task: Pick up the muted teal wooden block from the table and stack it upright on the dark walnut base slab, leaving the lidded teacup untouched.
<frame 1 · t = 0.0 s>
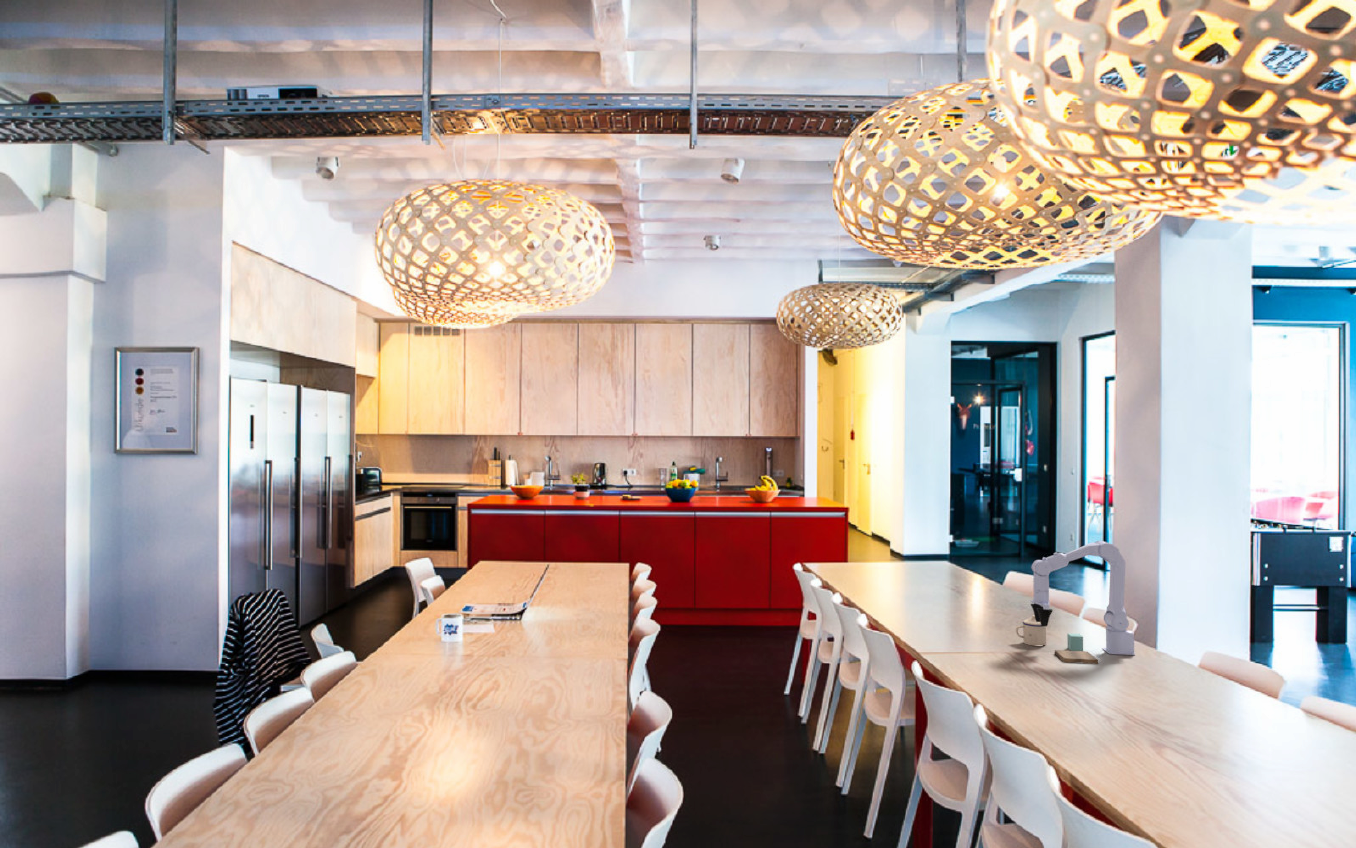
hand: (1041, 623, 317), 10 cm above the table, tool pointing down, fingers open, 7 cm apart
teal block: (1075, 650, 316), on the table
teacup with lid: (1031, 644, 325), on the table
walnut slab: (1076, 658, 302), on the table
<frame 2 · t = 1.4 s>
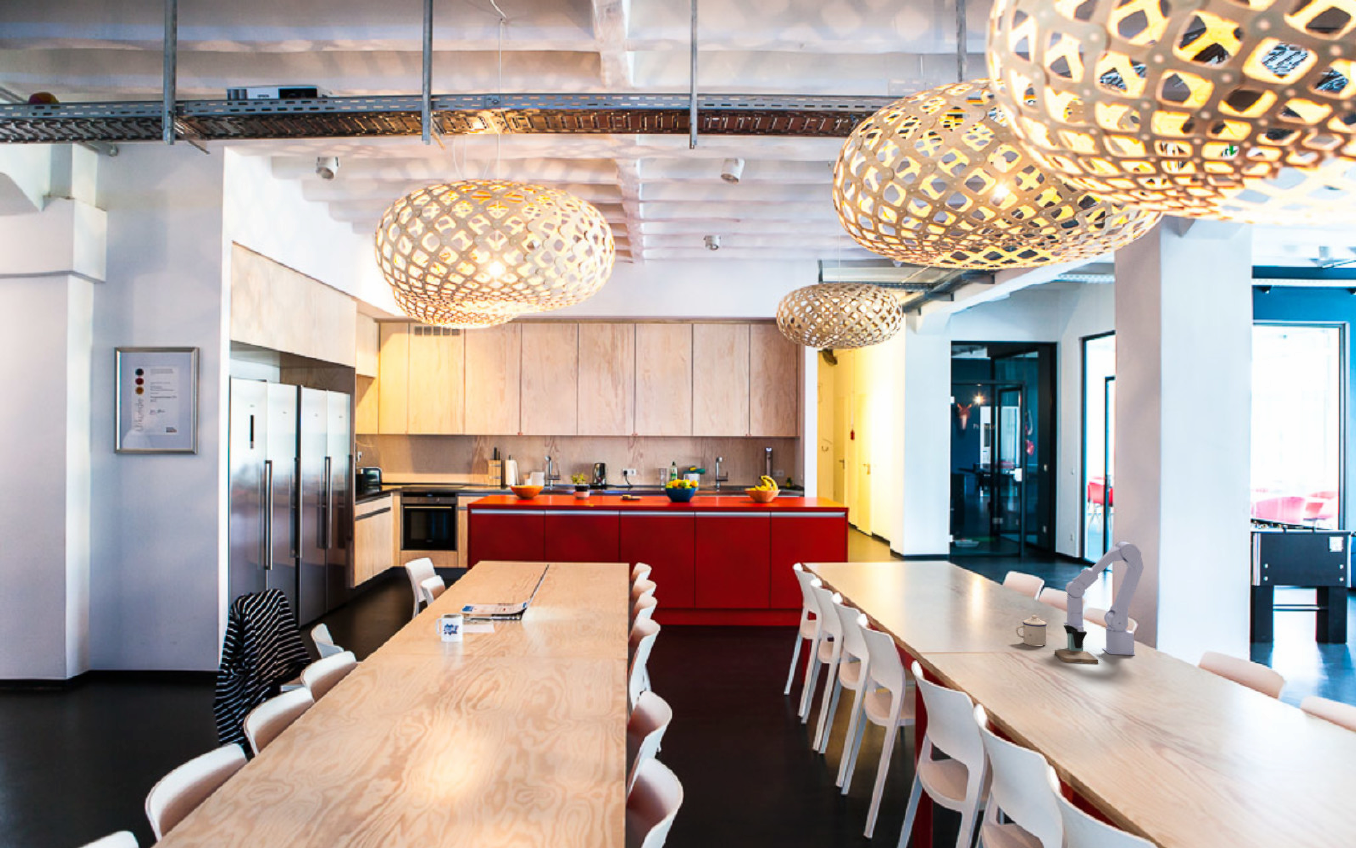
hand: (1075, 645, 316), 2 cm above the table, tool pointing down, fingers open, 7 cm apart
nothing on the table moved.
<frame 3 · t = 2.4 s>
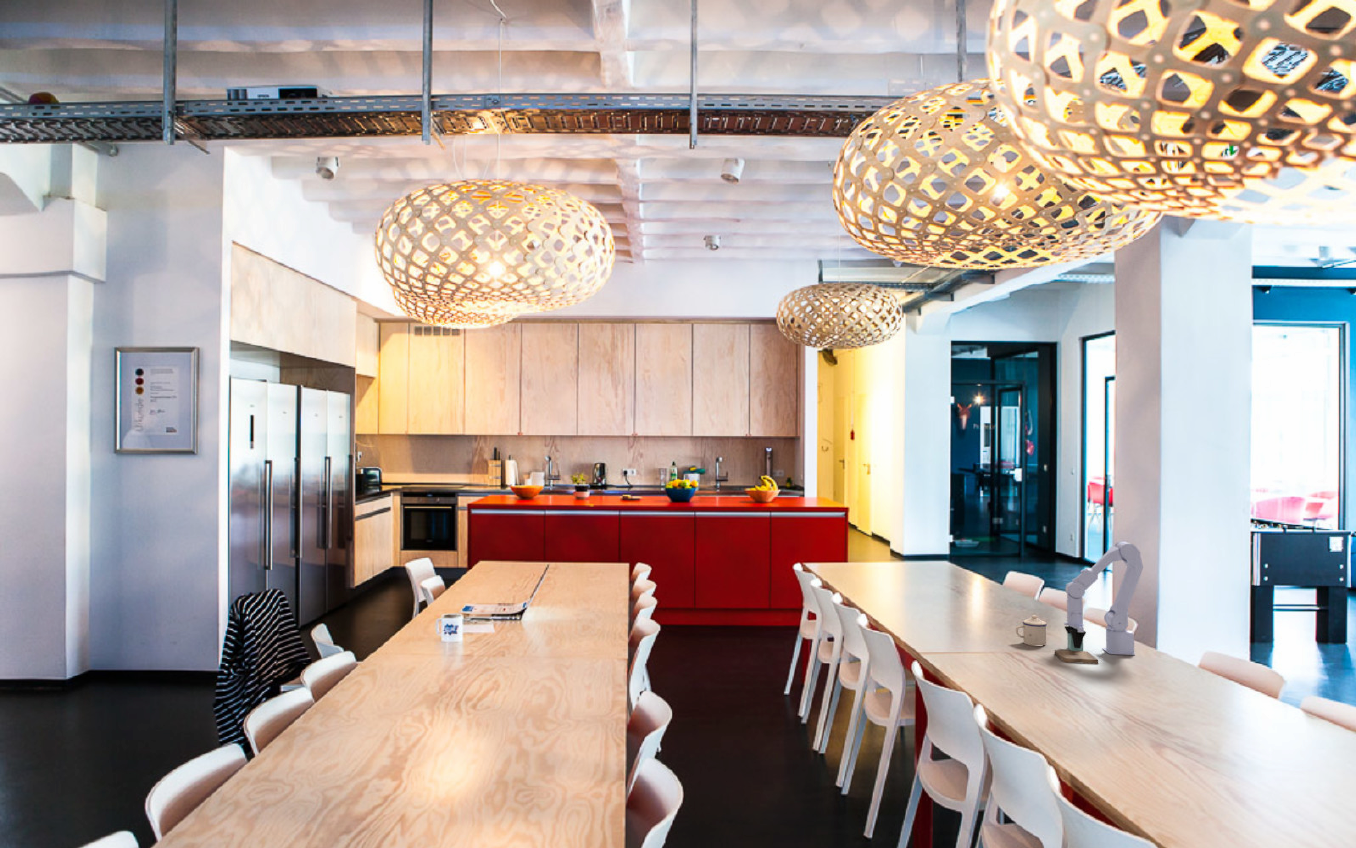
hand: (1075, 646, 316), 1 cm above the table, tool pointing down, fingers closed on teal block, 4 cm apart
teal block: (1075, 650, 316), on the table, touching gripper
everything else where it was.
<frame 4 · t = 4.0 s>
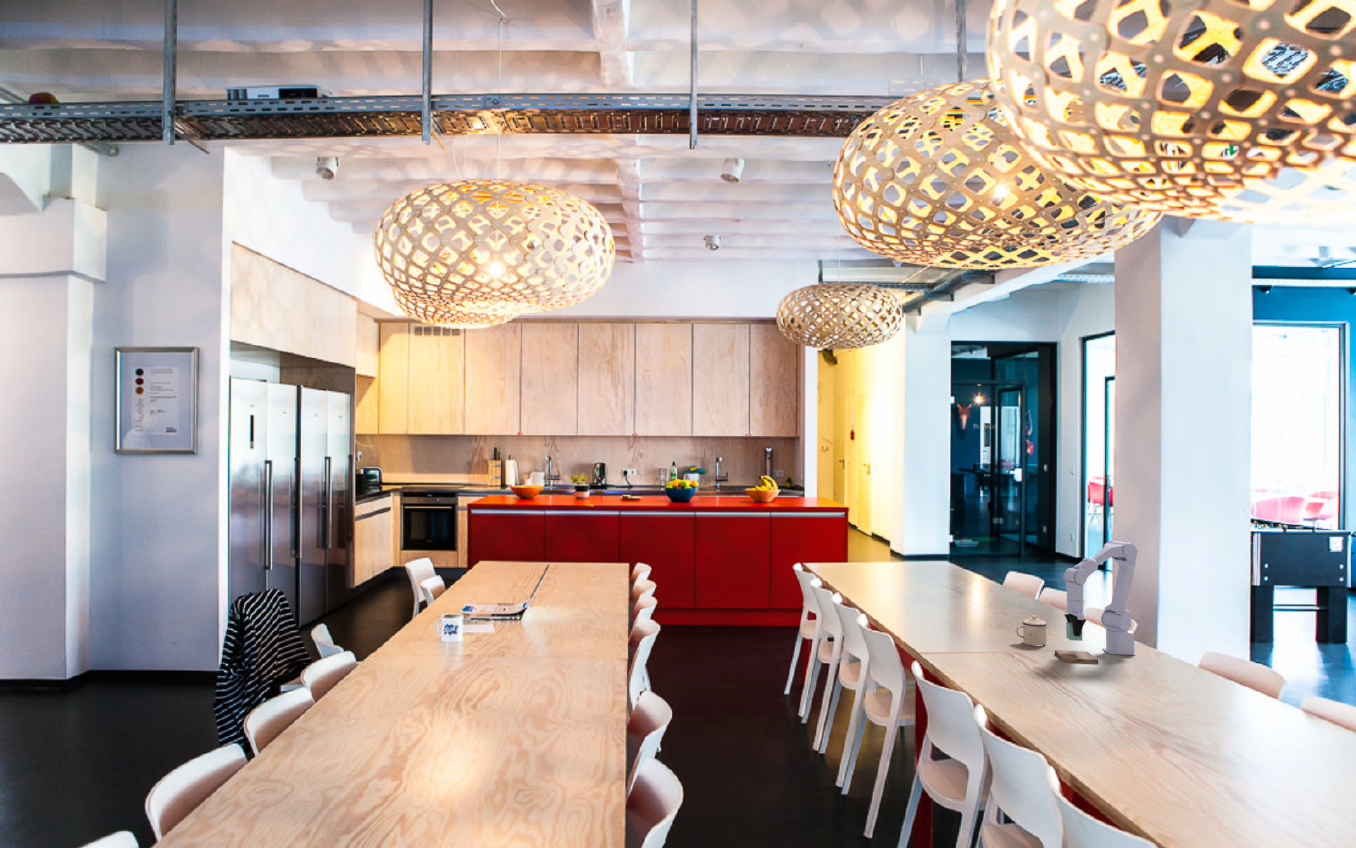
hand: (1075, 634, 306), 9 cm above the table, tool pointing down, fingers closed on teal block, 4 cm apart
teal block: (1074, 639, 306), point 7 cm above the table, touching gripper
everything else where it was.
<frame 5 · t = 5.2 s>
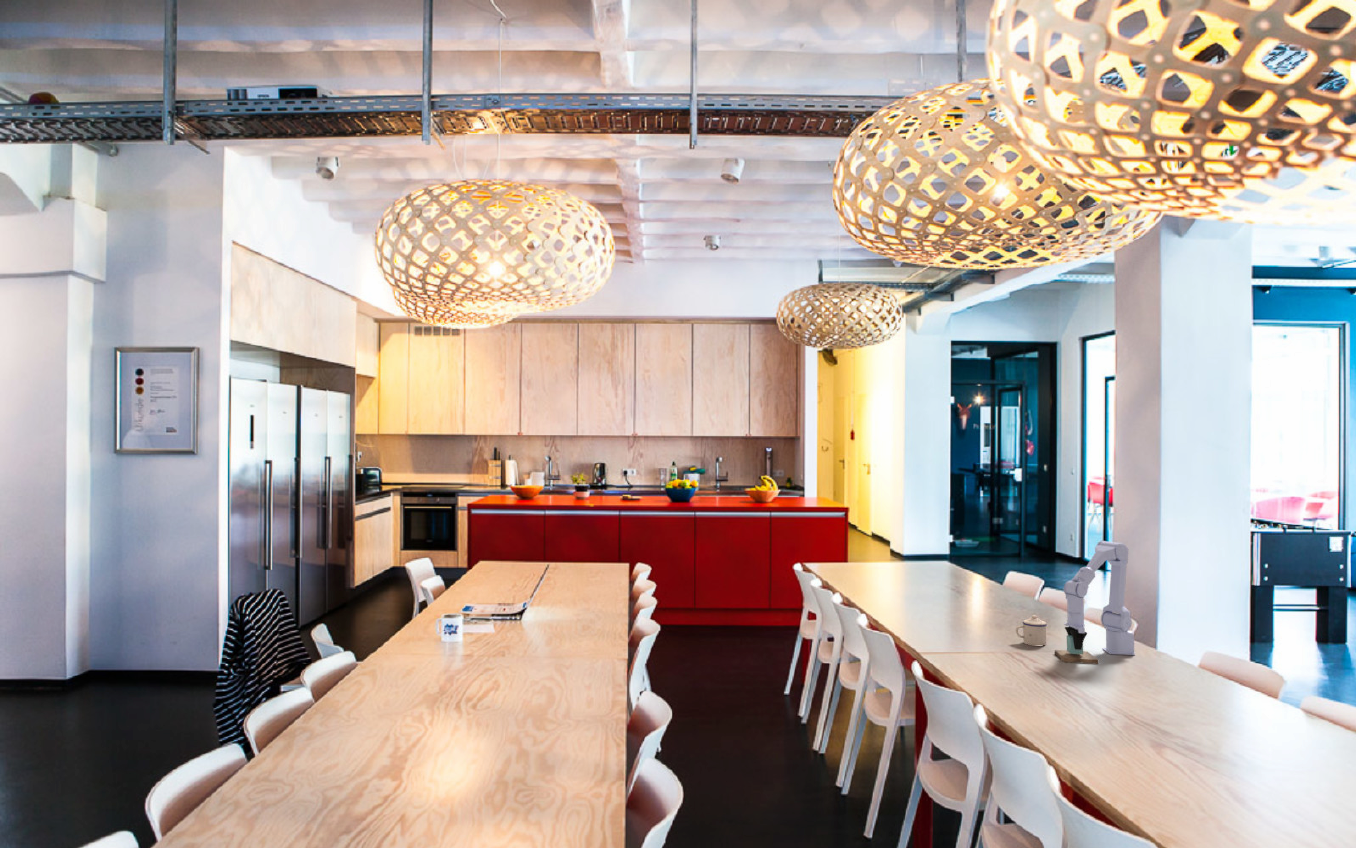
hand: (1075, 647, 303), 4 cm above the table, tool pointing down, fingers closed on teal block, 4 cm apart
teal block: (1075, 652, 303), point 2 cm above the table, touching gripper
everything else where it was.
when the fingers open (4 cm above the table, at t = 5.9 s): teal block stays where it is, resting on walnut slab.
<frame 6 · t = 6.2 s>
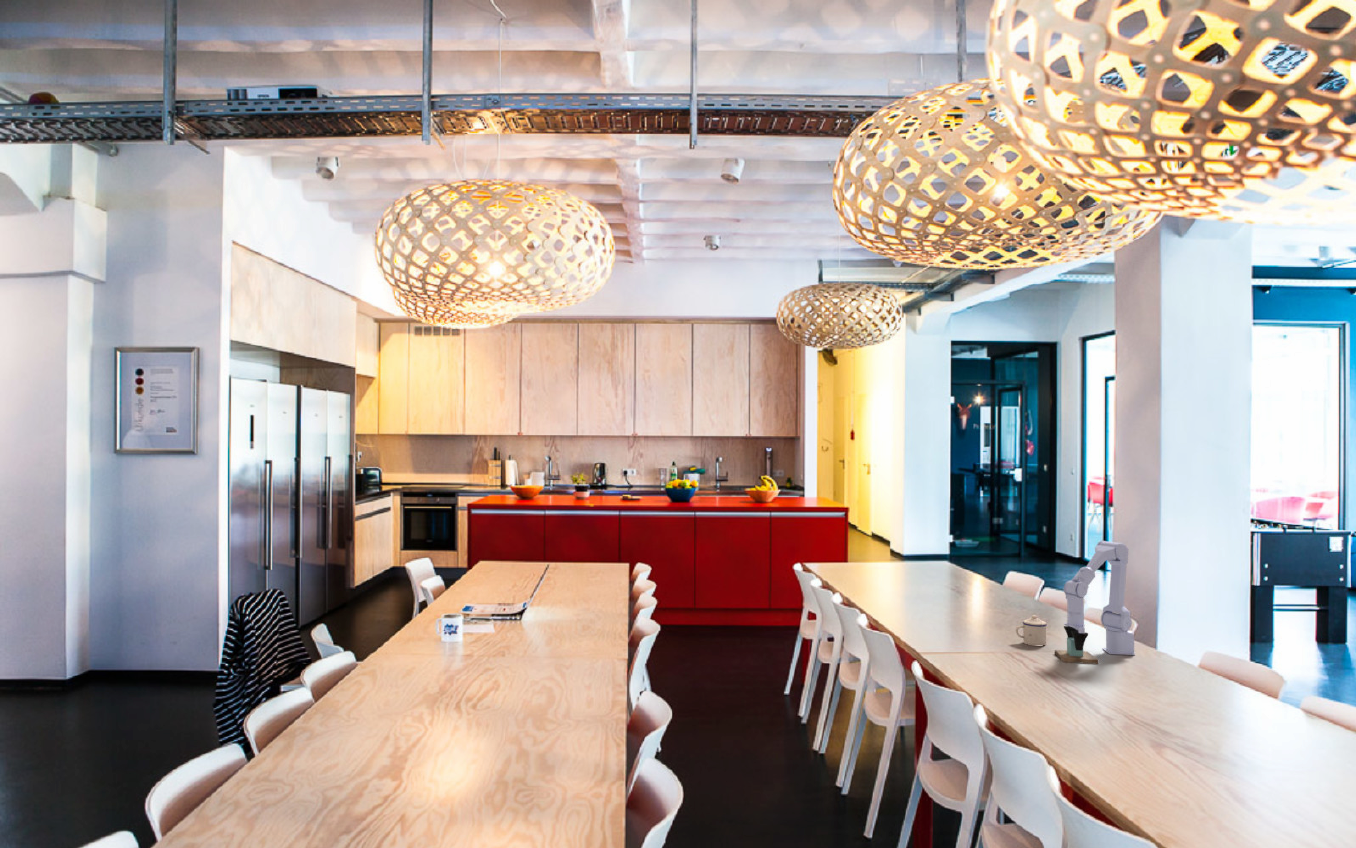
hand: (1075, 647, 303), 4 cm above the table, tool pointing down, fingers open, 7 cm apart
teal block: (1075, 654, 303), point 1 cm above the table, touching walnut slab
everything else where it was.
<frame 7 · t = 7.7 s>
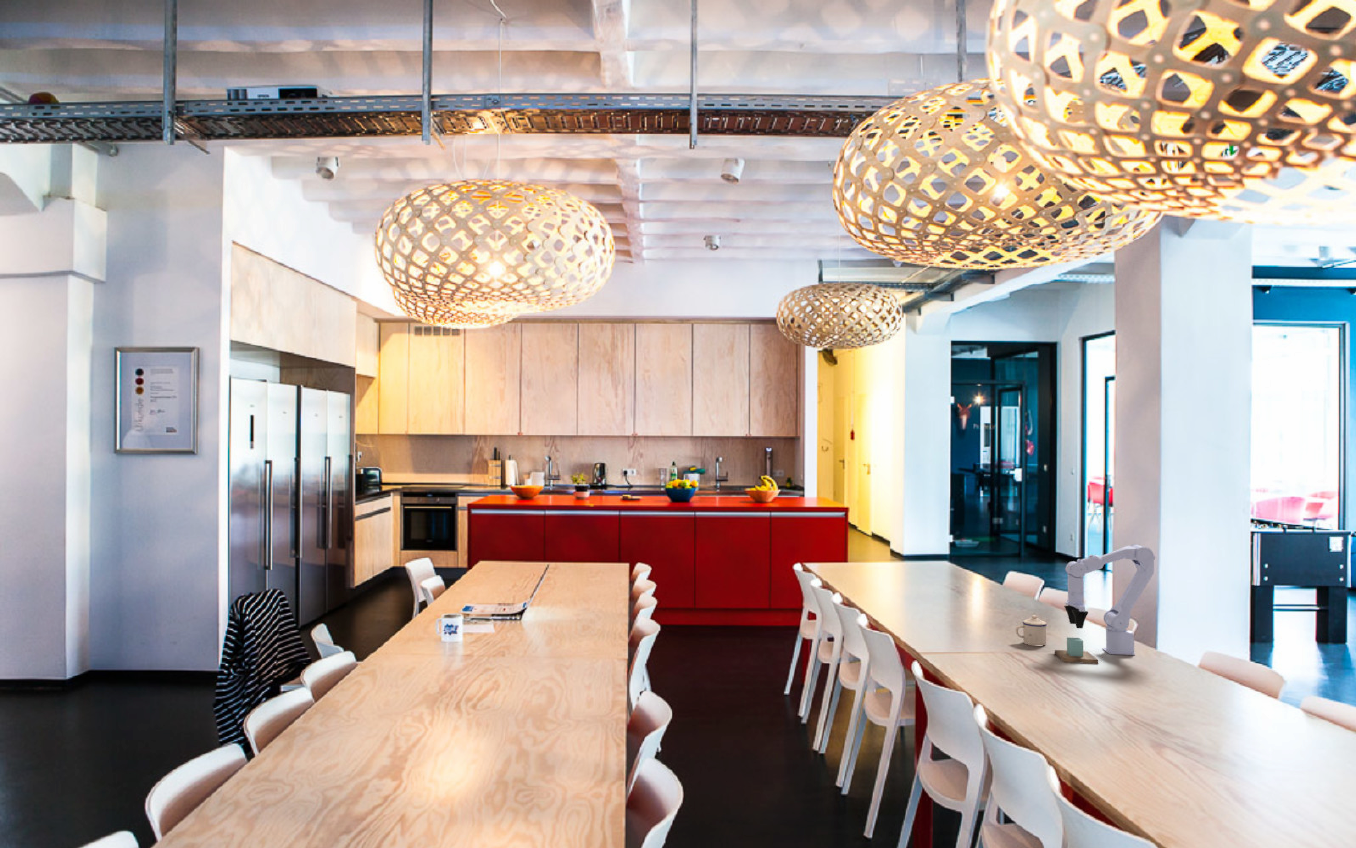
hand: (1076, 626, 315), 10 cm above the table, tool pointing down, fingers open, 7 cm apart
nothing on the table moved.
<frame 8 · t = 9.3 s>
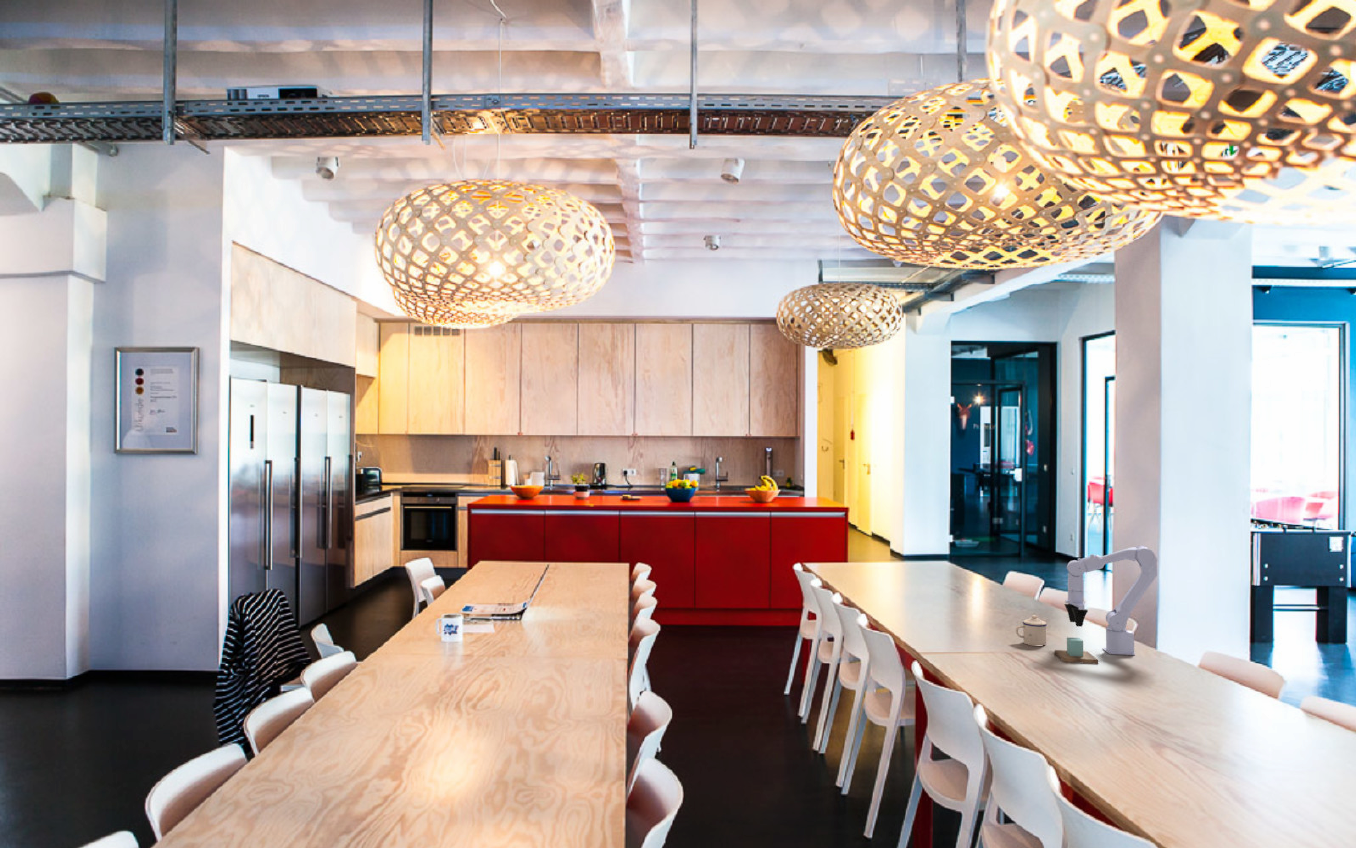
hand: (1076, 624, 318), 10 cm above the table, tool pointing down, fingers open, 7 cm apart
nothing on the table moved.
at the end: teal block inside the target area on the walnut slab (0.3 cm from its centre), point 1.5 cm above the walnut slab's base; teal block tilted 0°; the gripper is holding nothing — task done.
